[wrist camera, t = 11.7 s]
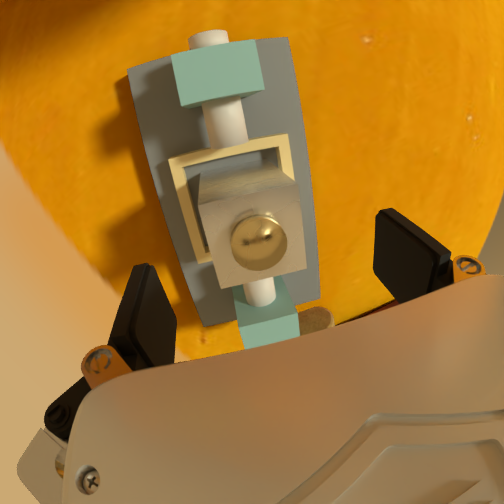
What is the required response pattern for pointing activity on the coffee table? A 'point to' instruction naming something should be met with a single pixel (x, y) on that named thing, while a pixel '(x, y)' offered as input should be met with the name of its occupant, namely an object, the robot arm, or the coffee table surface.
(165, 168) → the shaft stand
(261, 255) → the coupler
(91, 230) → the coffee table surface
